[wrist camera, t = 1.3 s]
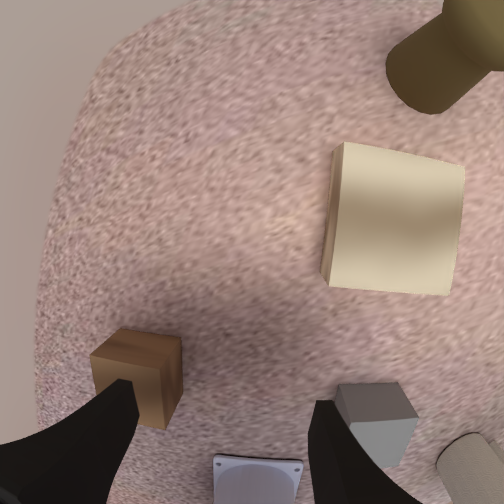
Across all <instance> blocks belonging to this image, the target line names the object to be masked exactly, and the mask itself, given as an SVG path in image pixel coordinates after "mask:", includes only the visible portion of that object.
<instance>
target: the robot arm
mask: <svg viewBox="0 0 504 504" xmlns="http://www.w3.org/2000/svg"><path fill="white" fill-rule="evenodd" d="M139 417H140V413H139V410H138V405H137V401H136V397H135V393H134V388H133V384H132V381H129V380H124V379H119V378H118V379H117V380H116V381H114V382H113V383H112V384H111V385H109V386H108V387H107V388H106V389H104V390H103V391H102V392H101V393H99V394H98V395H97V396H95V397H94V398H93V399H92V400H90V401H89V402H88V403H86V404H85V405H84V406H82V407H81V408H80V409H78V410H77V411H75V412H74V413H72V414H71V415H69V416H68V417H66V418H65V419H63V420H61V421H60V422H58V423H56V424H54V425H52V426H50V427H49V428H47V429H45V430H42V431H40V432H38V433H36V434H33V435H31V436H28V437H26V438H23V439H20V440H17V441H13V442H10V443H6V444H2V445H0V504H106V502H107V498H108V495H109V492H110V488H111V485H112V482H113V479H114V477H115V474H116V472H117V470H118V468H119V466H120V464H121V462H122V460H123V457H124V455H125V453H126V451H127V449H128V447H129V445H130V442H131V440H132V438H133V436H134V433H135V430H136V427H137V423H138V420H139ZM308 457H309V464H310V471H311V478H312V485H313V492H314V500H315V504H422V503H421V502H419V501H418V500H416V499H415V498H413V497H412V496H411V495H409V494H408V493H407V492H406V491H404V490H403V489H402V488H401V487H399V486H398V485H397V484H396V483H394V482H393V481H392V480H391V479H390V478H389V477H388V476H387V475H386V474H385V473H384V472H383V471H382V470H381V469H380V468H379V467H378V466H377V465H376V464H375V462H374V461H373V460H372V459H371V458H370V456H369V455H368V454H367V453H366V451H365V450H364V449H363V448H362V446H361V445H360V444H359V442H358V441H357V439H356V438H355V436H354V435H353V433H352V432H351V430H350V429H349V427H348V426H347V424H346V423H345V421H344V419H343V418H342V416H341V414H340V412H339V411H338V409H337V407H336V405H335V403H334V402H333V401H332V400H316V404H315V408H314V412H313V416H312V420H311V424H310V427H309V431H308ZM303 467H304V465H303V462H302V461H293V460H269V459H254V458H243V457H233V456H224V455H215V456H214V458H213V478H214V502H213V504H295V497H296V493H297V490H298V486H299V482H300V478H301V474H302V471H303ZM296 468H299V469H296Z"/></svg>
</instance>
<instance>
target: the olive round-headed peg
mask: <svg viewBox="0 0 504 504" xmlns="http://www.w3.org/2000/svg"><path fill="white" fill-rule="evenodd" d="M491 71H504V0H444V2H443V8H442V13H441V14H439V15H438V16H437V17H435V18H434V19H432V20H431V21H429V22H428V23H427V24H425V25H424V26H422V27H421V28H420V29H418V30H417V31H415V32H414V33H413V34H411V35H410V36H409V37H407V38H406V39H404V40H403V41H402V42H400V43H399V44H398V45H396V46H395V47H394V48H393V49H392V50H391V51H390V53H389V54H388V57H387V60H386V74H387V77H388V80H389V82H390V85H391V87H392V88H393V90H394V91H395V93H396V94H397V95H398V97H399V98H400V99H401V100H402V101H404V102H405V103H406V104H407V105H408V106H409V107H411V108H413V109H415V110H417V111H419V112H422V113H426V114H430V115H431V114H439V113H442V112H444V111H445V110H447V109H449V108H450V107H451V106H452V105H453V104H454V103H455V102H457V101H458V100H459V99H460V98H461V97H462V96H463V95H465V94H466V93H467V92H468V91H469V90H470V89H471V88H473V87H474V86H475V85H476V84H477V83H478V82H479V81H480V80H482V79H483V78H484V77H485V76H486V75H487V74H488V73H489V72H491Z"/></svg>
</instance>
